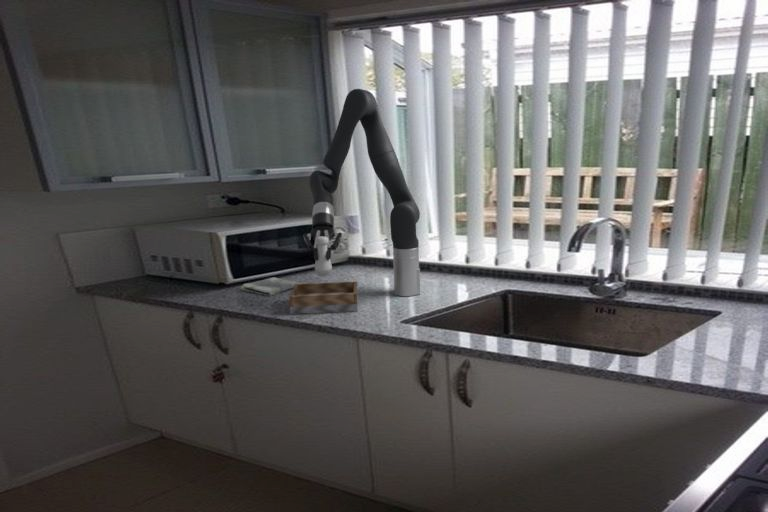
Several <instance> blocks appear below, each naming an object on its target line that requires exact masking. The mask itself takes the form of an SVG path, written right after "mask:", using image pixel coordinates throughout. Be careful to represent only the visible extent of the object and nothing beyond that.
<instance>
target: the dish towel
mask: <svg viewBox="0 0 768 512" xmlns="http://www.w3.org/2000/svg"><path fill="white" fill-rule="evenodd" d="M295 284H303V282H299V281H297V282H296V281H293V280H288V279H282V278H277V277H269V278H265V279H263V280H257V281H253V282H247V283H243V285H241V286H240V290H241V289H242V290H241V291H244V290H245V291H244V292H249V291H250V292H249V293H253V292H255V293H254V294H258V293H259V294H258V295H262V294H264V295H263V296H267V295H268V296H267V297H273V296H275V294H276V295H278V293H279V294H282V293H285V292H288V291H292V290H293V288H294V286H295ZM291 289H292V290H291ZM272 295H273V296H272Z"/></svg>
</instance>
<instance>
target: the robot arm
mask: <svg viewBox="0 0 768 512" xmlns="http://www.w3.org/2000/svg"><path fill="white" fill-rule="evenodd" d="M359 122H360V125H361V126H362V128H363V131H364V134H365V139H366V140H365V141H366V148H367V150H366V151H367V154H368V158H369V160H370V163H371V166H372V168H373V171H374V173H375V175H376V176H377V179H379V181H380V182H381V184H382V185H383V187H384V188H385V189H386V191H387V193H388V194H389V196H390V199H391V202H392V205H393V208H392V209H391V211H390V215H389V217H390V218H389V219H390V220H389V225H390V227H389V228H390V238H391V242H392V253H393V254H392V257H393V259H392V260H393V261H392V263H393V289H394V290H393V292H394V293H393V294H394V295H395V296H400V297H412V296H418V295H421V279H420V278H421V273H420V272H421V271H420V270H421V268H420V259H419V257H420V256H419V254H420V250H419V249H420V247H419V246H420V245H419V239H418V237H417V223H418V222H419V220H420V216H421V215H420V209H419V207H418V205H417V203H416V201H415V199H414V197H413V195H412V193H411V191H410V189H409V187H408V184H407V182H406V178H405V176H404V172H403V170H402V167H401V165H400V161H399V159H398V157H397V156H398V155H397V154H396V152H395V149H394V147H393V145H392V142H391V140H390V137H389V135H388V132H387V130H386V128H385V126H384V124H383V121H382V118H381V113H380V110H379V107H378V102H377V100H376V97H375V95H374V94H373V93H372V92H370V91H369V90H366V89H363V88H354V89H352V90H350V91H349V92H348V93H347V95H346V97H345V100H344V104H343V106H342V110H341V115H340V118H339V121H338V123H337V127H336V130H335V133H334V135H333V138H332V140H331V142H330V145H329V146H328V148H327V151H326V154H325V155H324V157H323V160H322V164H323V166H325V167H326V168H327V169H329V170H330V171H331V173H327V172H325V171H322V170H318V169H317V170H313V172H311V174H310V175H309V180H308V183H309V184H308V185H309V189H310V193H311V194H312V198H313V199H312V200H313V203H312V204H313V205H312V206H313V208H312V212H311V213H312V217H311V218H312V220H311V221H312V222H311V230H310V233H303V235H302V236H303V240H304V242H305V244H306V246H307V248H308V250H309V251H313V259H314V260H315V261H318V249H317V246H318V244H316V238H317V237H320V236H325V237H327V238H328V240H329V242H328V244H327V251H326V258H327V260H328V261H329V259H330V260H331V259H332V251H336V250H337V249H338V247H339V245H340V243H341V241H342V239H343V235H342V234H343V233H342V232H336V230H335V228H334V227H335V213H334V197H333V193H335V192H336V191H337V189H338V186H339V179H340V174H341V170H342V167H343V165H344V163H345V161H346V158H347V156H348V154H349V151H350V148H351V144H352V138H353V135H354V131H355V129H356V127H357V125H358V123H359ZM311 238H312V239H313V241H314V243H313V244H314V245H313V244H312V241H311ZM332 239H334V240H333V243H332V244H331V241H332Z"/></svg>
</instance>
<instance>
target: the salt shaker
mask: <svg viewBox="0 0 768 512" xmlns="http://www.w3.org/2000/svg"><path fill="white" fill-rule="evenodd" d="M328 242H329V240H328V238H327V237H325V236H320V237H317V238H316V244H318V246H317V249H318V261H316V260H315V263H314V270H315V272H316V274H317V276H320V277H327V276H329V275H330V274H331V272H332V269H333V265H332V262H331V259H329V261H328V260H327V258H326V251H327V244H328Z"/></svg>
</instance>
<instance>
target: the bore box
mask: <svg viewBox="0 0 768 512" xmlns="http://www.w3.org/2000/svg"><path fill="white" fill-rule="evenodd" d="M288 298H289V312H290V315H300V314H299V313H308V314H326V313H327V312H331V313H349V312H348V311H354V312H358V307H359V305H358V304H359V301H358V299H359V296H358V281H338V282H333V281H332V282H316V283H315V282H314V283H313V282H312V283H311V282H310V283H308V282H307V283H302V284H295V286H294V288H293V289H292V290H291V292H290V295H289V297H288ZM327 314H328V313H327Z"/></svg>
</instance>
